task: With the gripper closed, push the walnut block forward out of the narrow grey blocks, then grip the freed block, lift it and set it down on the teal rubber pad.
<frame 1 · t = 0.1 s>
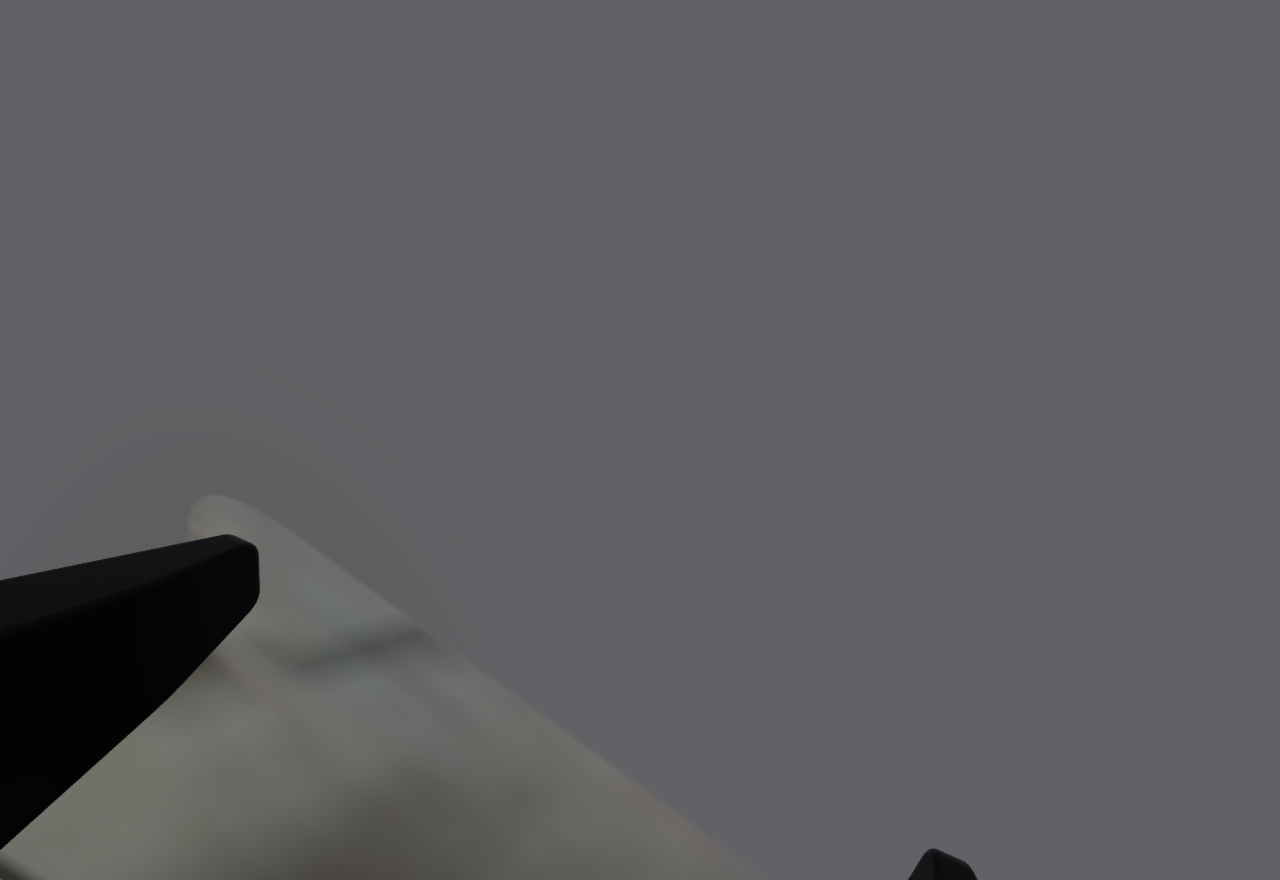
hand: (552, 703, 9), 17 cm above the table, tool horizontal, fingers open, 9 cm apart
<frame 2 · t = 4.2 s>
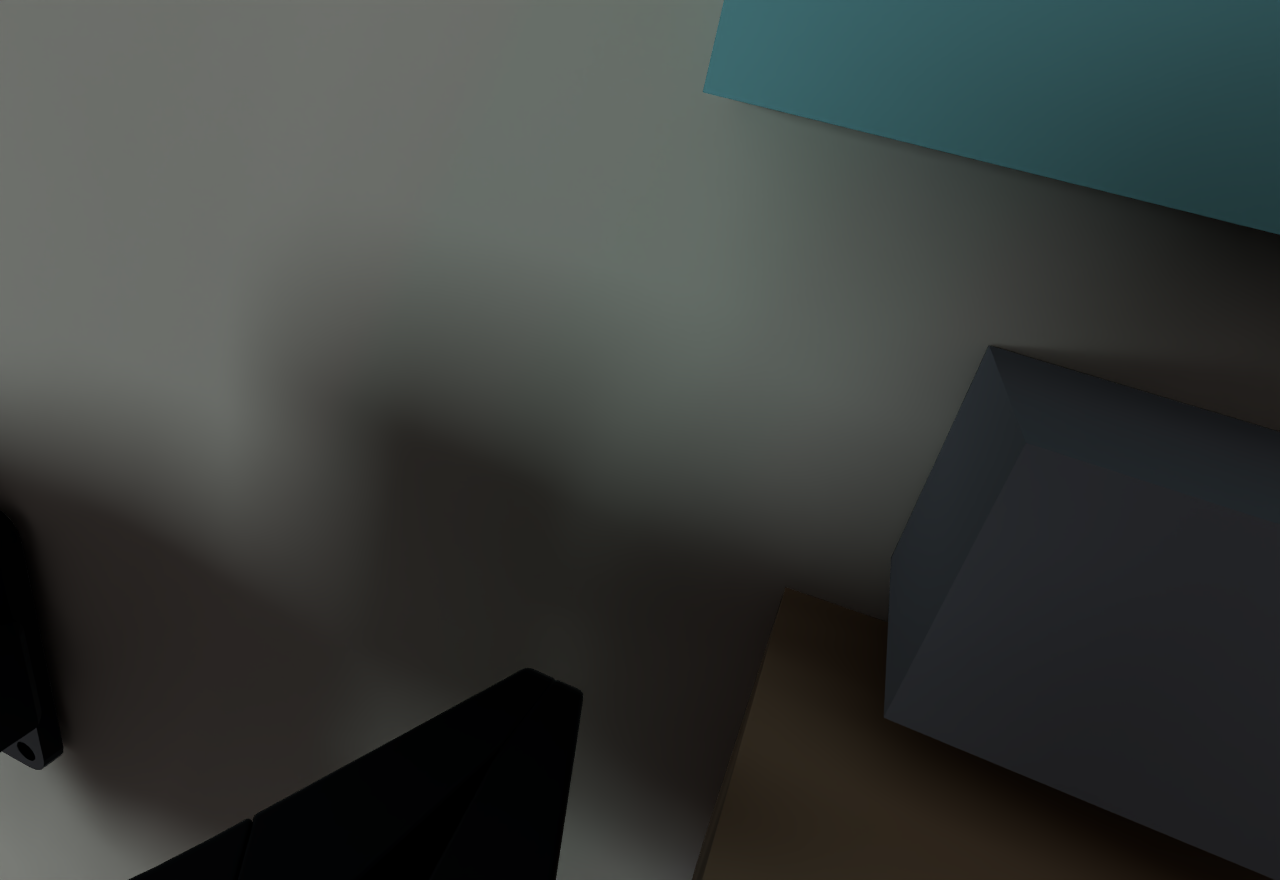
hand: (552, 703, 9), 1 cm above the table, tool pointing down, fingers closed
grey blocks: (1048, 851, 9), on the table
walnut block: (1062, 849, 9), on the table, touching gripper
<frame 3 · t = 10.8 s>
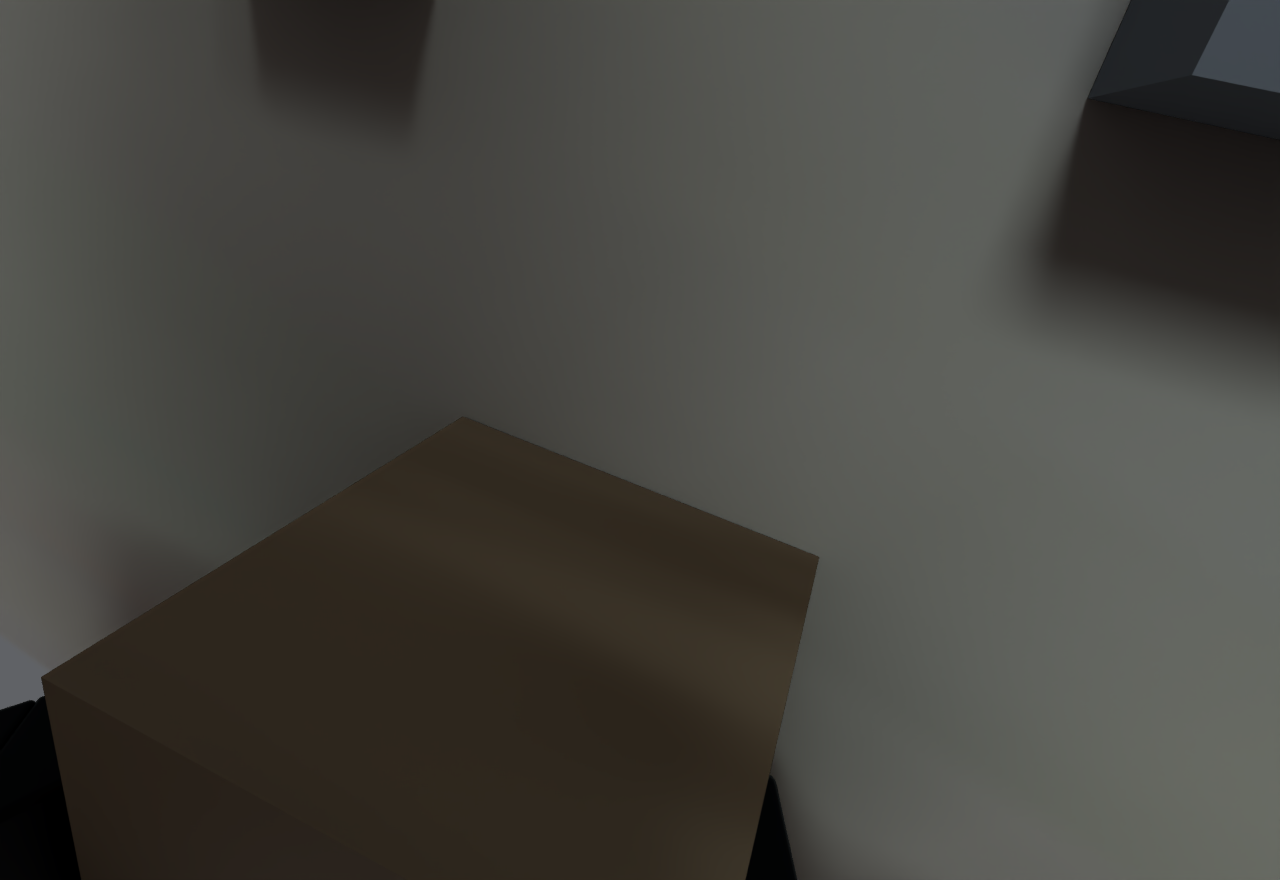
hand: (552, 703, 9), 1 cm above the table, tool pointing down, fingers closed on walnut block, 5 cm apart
walnut block: (568, 717, 10), on the table, touching gripper
when the fingers open (3 cm above the table, at t = 14.9 s): walnut block drops 1 cm, resting on pad.
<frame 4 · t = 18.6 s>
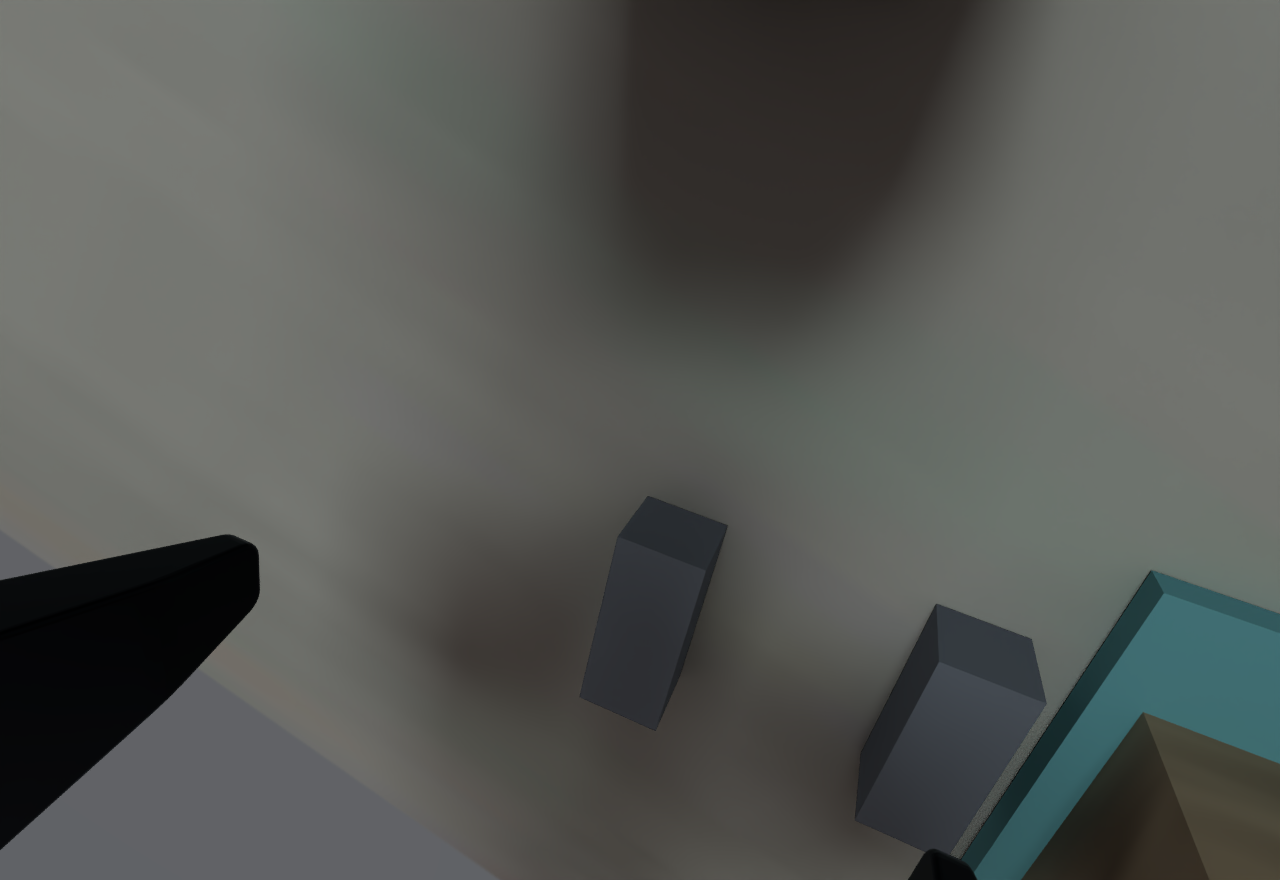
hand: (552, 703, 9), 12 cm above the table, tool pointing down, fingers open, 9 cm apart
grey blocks: (796, 643, 22), on the table
pad: (1174, 795, 19), on the table
walnut block: (1158, 854, 19), point 1 cm above the table, touching pad
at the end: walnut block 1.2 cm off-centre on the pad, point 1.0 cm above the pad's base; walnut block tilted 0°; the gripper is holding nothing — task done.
